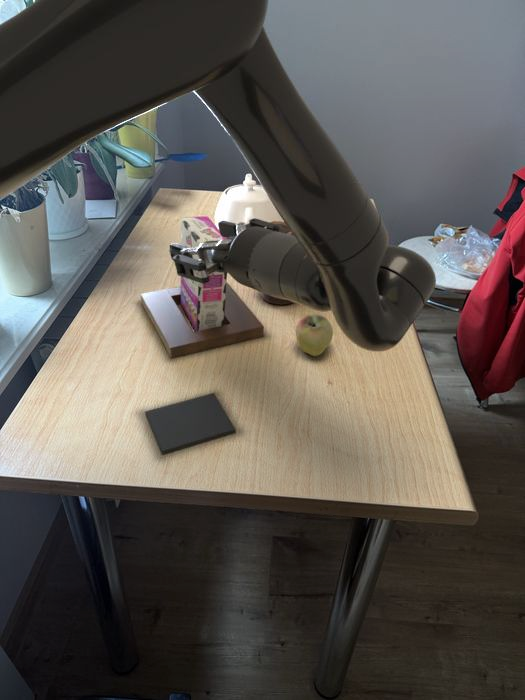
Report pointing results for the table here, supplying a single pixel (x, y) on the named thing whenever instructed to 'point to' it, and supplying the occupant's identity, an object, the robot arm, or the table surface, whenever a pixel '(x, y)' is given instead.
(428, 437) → the table surface
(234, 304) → the board
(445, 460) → the table surface
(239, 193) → the teapot
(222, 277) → the candy bar box
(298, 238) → the robot arm
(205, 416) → the mat
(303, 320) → the apple
